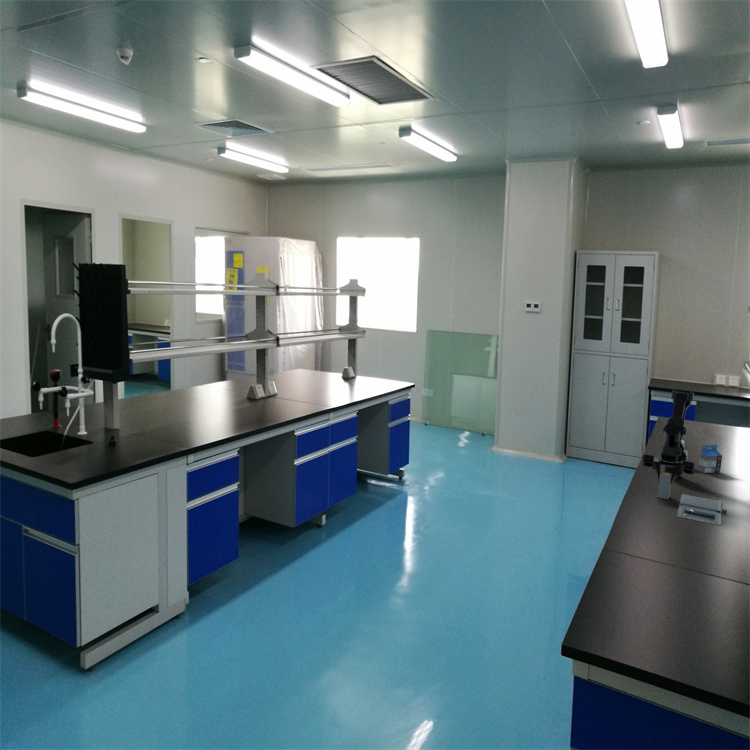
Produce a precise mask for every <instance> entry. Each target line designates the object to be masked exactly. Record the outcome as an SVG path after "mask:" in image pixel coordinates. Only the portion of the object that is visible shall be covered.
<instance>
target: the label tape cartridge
mask: <svg viewBox="0 0 750 750" xmlns="http://www.w3.org/2000/svg"><path fill="white" fill-rule="evenodd" d="M717 449H718V445H717V444H707V445H706V444H702V445H701V451H700V457H699V464H698V465H699V466H698V470H697V471H698V472H700V473H703V474H717V473H718V474H719V473H721V469H722V461H723V455H722V454H721V453H720V452H719V451H718V450H717Z"/></svg>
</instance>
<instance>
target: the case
mask: <svg viewBox="0 0 750 750" xmlns="http://www.w3.org/2000/svg"><path fill="white" fill-rule="evenodd" d="M727 512H728V510H727V509H726V508H722V501H721V500H717V499H716V500H715V499H710V498H705V497H699V496H694V495H689V494H683V493H681V495H680V499H679V504H678V510H677V514H676V517H677V518H681V517H682V519H686V518H687V520H691V519H692V520H691V521H697V522H701V523H706V524H711V525H716V526H722V515H724V516H726V515H727V514H728V513H727Z"/></svg>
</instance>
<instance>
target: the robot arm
mask: <svg viewBox="0 0 750 750" xmlns="http://www.w3.org/2000/svg"><path fill="white" fill-rule="evenodd" d="M694 398H695V393H694V392H692V390H691V389H683V388H675V390H671V398H670V399H671V400H672V403H673V409H672V413H671V414H672V415H671V416H670V417H669V418H668V419H667V422H666V424H664V427H663V431H662V432H663V433H664V444H663V446H662V451H661V453H660V458H657V457H655V455H654V454H649V453H644V454H643V455H642V466H644V467H647V468H652V470H655V473H656V476H657V481H658V482H659V478H660V473H661V466H664V472H666V473H670V474H672V477H671V481H670V484H671V485H672V484H673V483H674V482H675V480H677V479H684V476H682V475H684V474H686V475H694V474H695V469H696V468H695V466H696V464H695V462H694V461H692V460H691V461H689V460H688V457H687V456H686V454H685V452H684V450H685V446H684V447H683V445H682V443H681V442H682V440H683V436H685V435H686V434H687V431H688V430H687V428H686V426H685V419H686V412H687V410H688V408H689V407H690V406H691V404H692V402H693V401H694ZM686 460H687V461H686ZM681 461H683V462H681Z"/></svg>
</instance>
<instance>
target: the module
mask: <svg viewBox="0 0 750 750" xmlns="http://www.w3.org/2000/svg"><path fill="white" fill-rule="evenodd" d="M671 477H672V474H670V473H666V472H665V471H660V478H659V481H658V488H657V494H656V495H657V497H659V498H658V499H662V498H663V499H664V500H667V499H668V500H669V498H670V494H671V487H672V484H670V481H671Z"/></svg>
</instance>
